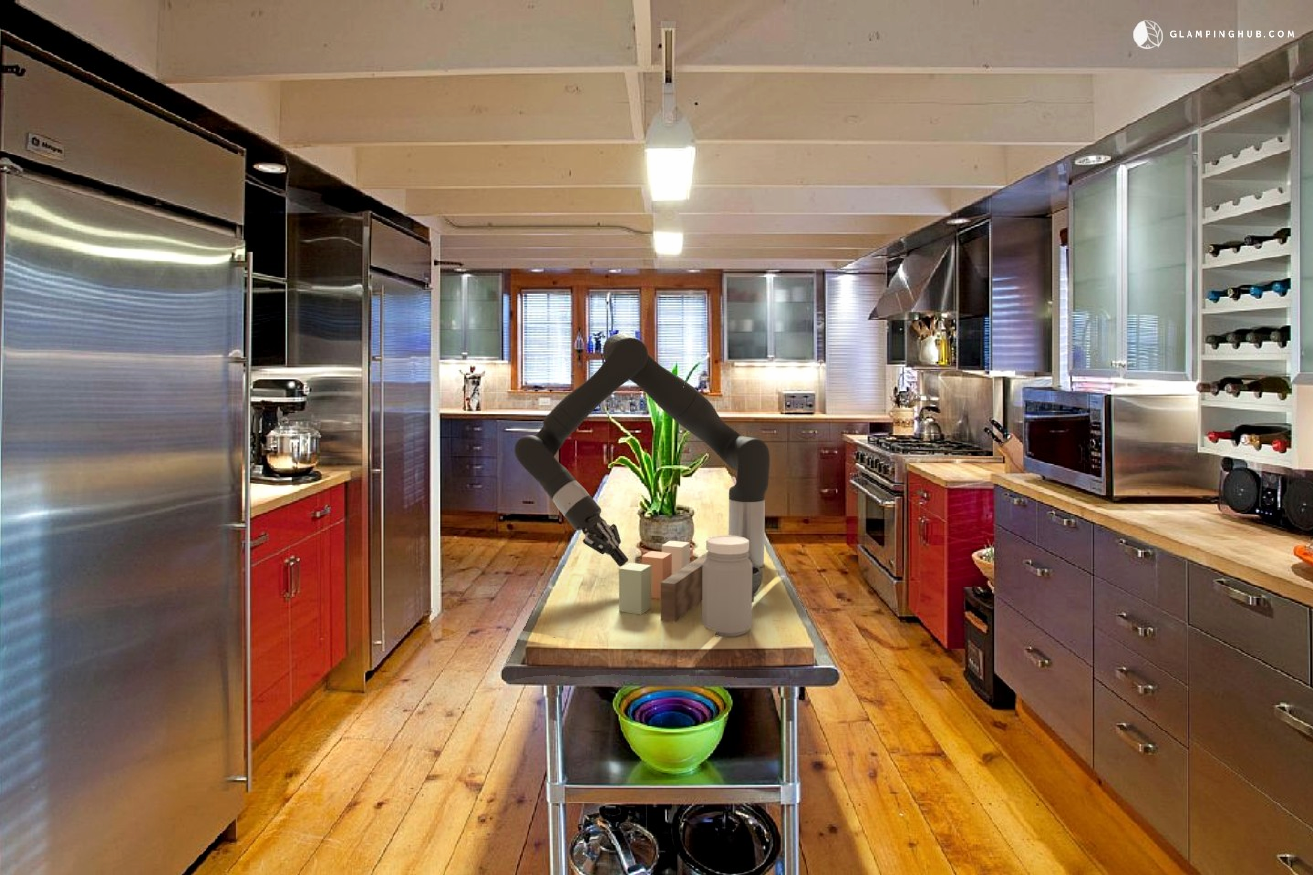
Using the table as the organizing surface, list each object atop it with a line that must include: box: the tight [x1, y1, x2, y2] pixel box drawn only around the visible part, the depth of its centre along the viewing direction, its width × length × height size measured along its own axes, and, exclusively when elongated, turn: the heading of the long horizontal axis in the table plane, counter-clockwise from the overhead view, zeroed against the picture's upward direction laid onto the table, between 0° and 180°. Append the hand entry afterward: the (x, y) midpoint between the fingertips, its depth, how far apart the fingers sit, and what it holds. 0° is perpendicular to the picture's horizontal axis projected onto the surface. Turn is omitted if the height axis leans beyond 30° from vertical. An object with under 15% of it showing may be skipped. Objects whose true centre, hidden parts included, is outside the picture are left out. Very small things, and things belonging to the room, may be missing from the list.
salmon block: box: [641, 550, 672, 600], centre depth 169 cm, size 5×5×9 cm
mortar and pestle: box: [748, 556, 763, 603], centre depth 169 cm, size 11×9×12 cm
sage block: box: [618, 562, 652, 615], centre depth 159 cm, size 5×5×9 cm
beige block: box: [661, 540, 691, 575], centre depth 179 cm, size 5×5×9 cm
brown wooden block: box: [660, 551, 708, 623], centre depth 169 cm, size 30×18×9 cm, turn 156°
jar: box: [701, 534, 753, 638], centre depth 151 cm, size 10×10×18 cm
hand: (624, 563), depth 172 cm, fingers closed
